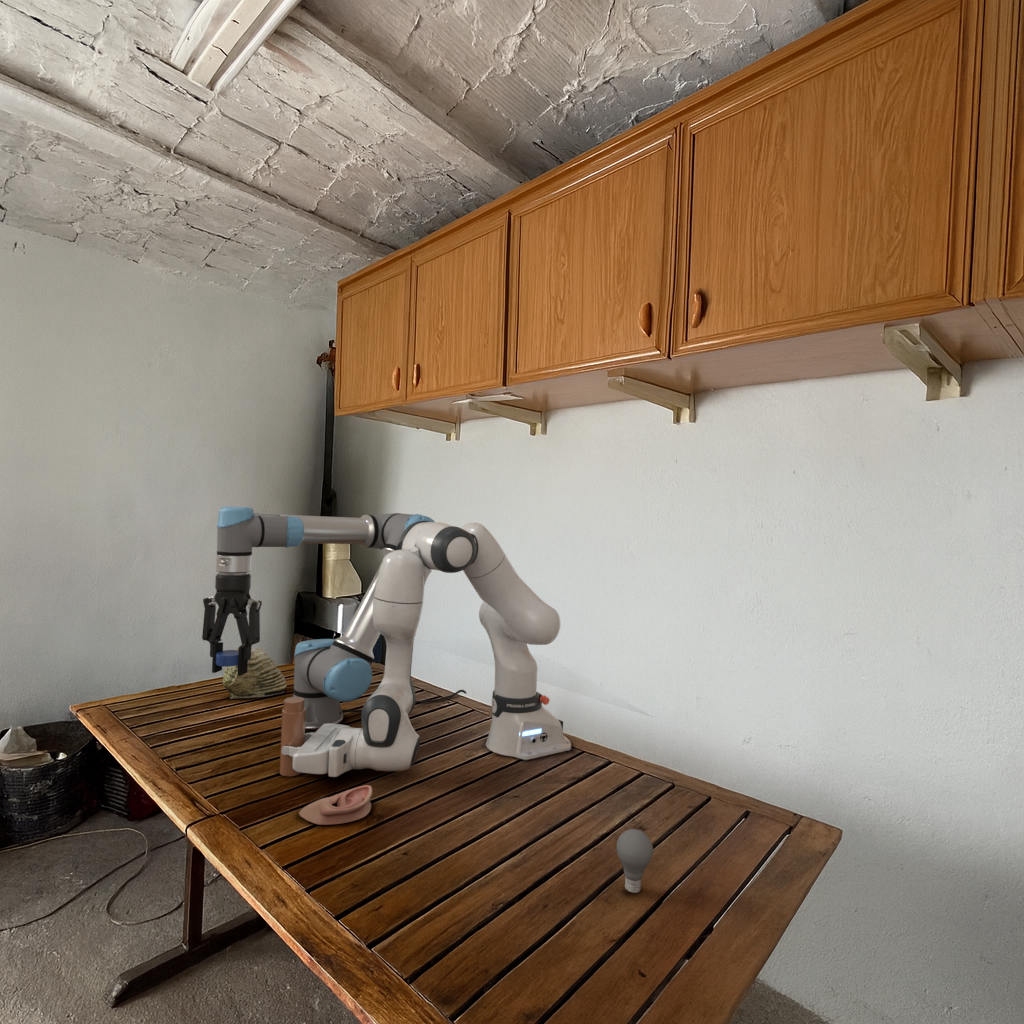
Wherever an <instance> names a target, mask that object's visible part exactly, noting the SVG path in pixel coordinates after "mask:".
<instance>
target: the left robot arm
mask: <svg viewBox="0 0 1024 1024" xmlns="http://www.w3.org/2000/svg"><path fill="white" fill-rule="evenodd" d="M418 521H429V522H436V521H435V520H434V519H433V518H431V517H430V516H427V515H423V514H419V513H416V514H413V513H411V514H409V513H400V512H393V513H384V514H363V515H362V516H361V517H349V516H348V517H347V516H324V515H323V516H321V515H300V514H273V513H259V512H255V511H254V509H253V508H252V507H248V506H222V507H221V508H220V509H219V511H218V515H217V525H216V529H217V532H216V558H215V559H216V560H215V561H216V562H215V571H216V572H217V574H215V583H214V585H215V586H214V588H215V591H216V592H215V594H214V596H209V597H205V598H203V599H202V602H203V603H202V604H203V608H204V610H203V611H204V612H203V625H202V633H201V634H202V635H201V639H202V641H206V642H208V643H209V657H210V658H211V659H212V663H211V673H213V674H216V673H218V672H220V671H222V670H223V666H218V665H216V653H217V652H220V651H224V641H223V639H221V638H222V636H223V632H224V629H225V626H226V623H227V620H228V617H229V616H230V615H231V614H232V615H233V618H234V619H235V621H236V625H237V630H238V634H239V638H240V642H241V645H240V646H238V647H239V650H238V675H240V676H241V675H243V674H245V673H247V669H248V660H249V659H250V658H251V649H252V646H253V645H255V644H259V643H260V642H261V633H260V632H261V618H260V617H261V615H260V613H261V607H262V605H263V602H262V601H261V600H256V599H253V598H252V596H251V594H250V590H251V587H252V586H251V585H252V584H251V583H252V575H251V574H250V573H251V571H252V564H253V563H252V561H253V560H252V558H253V548H290V547H293V548H294V547H298V546H300V545H301V544H318V545H319V544H323V545H324V544H327V545H329V544H330V545H360V547H362V548H365V549H366V548H367V549H369V548H370V549H378V550H382V553H383V556H384V557H385V556H386V555H387V554H388V553H390V552H392V551H395V550H396V547H397V545H398V543H399V542H400V538H401V536H402V534H403V532H404V530H405V529H406V528H407V527H408V526H409V525H410V524H412V523H415V522H418ZM398 550H399V548H398ZM384 557H383V558H384ZM381 564H382V562H381V563H380V565H379V567H378V569H377V571H376V572H375V575H374V577H373V579H372V581H371V582H370V584H369V586H368V588H367V590H366V592H365V593H364V596H363V597H362V599H361V601H360V602H359V605H358V607H357V608H356V610H355V612H354V614H353V616H352V618H351V620H350V622H349V624H348V626H347V627H346V630H345V632H344V634H343V635H342V636H339V637H337V638H319V639H308V640H303V641H300V642H297V644H296V645H295V650H294V655H293V656H294V672H293V695H292V697H302V698H304V707H305V708H306V718H305V733H311V732H316V731H317V730H318V729H319V728H320V727H321V726H322V725H323V724H327V723H333V724H341V725H342V723H343V722H344V714H343V713H361V712H362V709H342V706H341V702H343V703H350V702H353V701H355V700H358V699H359V698H361V697H362V696H364V694H365V693H366V692H367V691H368V690H369V688H370V686H371V684H372V681H373V673H372V672H373V669H372V667H371V665H372V663H373V662H374V660H375V656H374V651H373V649H374V647H375V645H376V643H377V641H378V639H379V637H380V635H381V634H380V633H379V632H378V631H377V629H376V628H375V626H374V622H373V601H374V594H375V587H376V582H377V578H378V574H379V570H380V567H381ZM217 606H218V608H217ZM247 606H248V607H247ZM247 608H248V609H249V611H248V610H247ZM222 641H223V642H222ZM460 693H464V694H467V691H466V690H465V689H459V690H457V691H455V692H454V693H452V694H450V695H446V696H443V697H440V698H434V699H425V700H416V702H415V704H425V703H433V702H439V701H444V700H447V699H451V698H453V697H455V696H456V695H458V694H460Z"/></svg>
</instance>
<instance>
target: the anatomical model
mask: <svg viewBox="0 0 1024 1024" xmlns="http://www.w3.org/2000/svg"><path fill="white" fill-rule="evenodd" d="M372 795H373V787H372V786H371V785H369V784H367V785H366V784H365V785H361V786H356V787H354V788H351V789H350V788H349V789H347V790H345V791H341V792H340V793H337V794H334V795H332V796H329V797H328V796H327V797H323V798H320V799H317V800H315V801H313V802H311V803H309V804H307V805H306V806H304V807H303V808H301V809H300V810H299V812H298V815H299V817H300V818H302V819H304V820H306V821H307V822H310V823H311V824H315V825H319V826H328V825H339V824H346V823H351V822H354V821H357V820H361V819H363V818H365V817H366V816H367V815H368V814H369V813H370V812H371V809H372V803H371V798H372V797H373V796H372Z"/></svg>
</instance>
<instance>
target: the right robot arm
mask: <svg viewBox="0 0 1024 1024" xmlns="http://www.w3.org/2000/svg"><path fill="white" fill-rule="evenodd" d="M398 548H399V550H398ZM381 563H382V564H381ZM381 563H380V565H381V567H380V566H379V567H380V570H379V574H378V578H377V582H376V587H375V594H374V601H373V622H374V626H375V628H376V629H377V631H378V632H379V633H380V635H382V637H384V640H385V645H386V650H385V651H386V652H385V659H384V660H385V662H384V672H383V677H382V679H381V681H380V683H379V684H378V686H377V688H376V690H375V691H374V692H373V693H372V694H371V695H370V696H369V697H368V699H367V700H366V701H365V702H364V704H363V706H362V708H361V710H362V712H360V718H361V727H351V726H350V725H346V724H342V723H341V724H333V723H327V724H323V725H322V726H321V727H320V728H319V729H318V730H317V731H316V732H305V743H304V744H303V745H302V746H301V747H297V748H296V747H292V745H285V746H283V747H282V754H283V755H289V756H291V757H293V770H295V771H297V772H300V773H301V774H307V775H308V774H309V775H310V774H311V775H326V774H327V776H328V777H331V778H337V777H339V776H341V775H343V774H344V773H346V772H349V771H351V770H363V769H371V770H374V771H377V772H402V771H407V770H409V769H411V768H412V767H413V766H414V764H415V763H416V760H417V757H418V755H419V751H420V748H421V747H420V746H421V737H420V735H419V734H418V733H417V732H416V730H415V728H414V727H413V725H412V723H411V719H410V716H409V715H411V713H412V712H413V710H414V708H415V706H416V703H415V702H416V701H417V695H416V691H415V687H414V684H413V681H412V663H413V655H414V654H413V653H414V642H415V638H416V634H417V631H418V628H419V625H420V621H421V616H422V612H423V605H424V599H425V598H424V597H425V585H426V582H427V580H428V578H429V575H430V574H431V573H432V570H434V571H438V572H439V571H440V572H442V573H445V574H455V573H456V574H457V573H459V572H460V573H461V572H463V573H464V575H465V576H466V578H467V579H468V581H469V582H470V584H471V586H472V587H473V589H474V590H475V592H476V594H477V595H478V597H479V598H480V599H481V600H482V603H481V605H480V607H479V611H478V618H479V622H480V624H481V626H482V627H483V628H484V630H485V632H486V633H487V636H488V639H489V641H490V646H491V649H492V653H493V661H494V689H493V691H492V698H491V714H492V715H491V722H490V726H489V727H490V728H489V731H488V735H487V739H486V741H485V747H486V748H487V749H488V750H489V751H491V752H492V753H494V754H498V755H502V756H506V757H512V758H513V757H514V758H517V759H520V760H523V761H528V760H529V761H530V760H533V759H539V758H542V757H546V756H550V755H555V754H559V753H565V752H568V751H571V750H572V742H571V741H570V739H569V738H568V737H567V736H565V735H564V721H563V720H561V719H559V718H557V717H556V716H555V715H554V714H552V713H551V712H550V711H549V710H548V709H546V708H545V707H544V706H547V705H549V703H550V702H551V701H550V698H549V697H548V696H546V695H544V694H542V693H540V692H538V691H537V690H538V689H537V687H538V663H537V660H536V659H535V657H534V656H533V655H532V653H531V652H530V651H531V650H530V649H529V646H528V645H530V646H545V645H547V646H548V645H549V644H551V643H552V642H554V641H555V640H556V639H557V637H558V635H559V633H560V631H561V617H560V614H559V612H558V611H557V610H556V609H555V608H554V607H553V606H551V605H549V604H548V603H546V601H544V600H542V598H540V596H539V595H537V594H536V593H535V592H534V590H533V589H532V588H531V587H530V586H529V585H528V584H527V583H526V582H525V581H524V580H523V579H522V578H521V576H520V575H519V574H518V572H517V571H516V570H515V567H514V566H513V564H512V563H511V561H510V560H509V558H508V556H507V555H506V553H505V551H504V549H503V548H502V546H501V545H500V543H499V542H498V541H497V539H496V538H495V537H494V535H493V534H492V533H491V531H489V529H487V527H485V525H483V524H481V523H479V522H469V523H466V524H464V525H462V526H460V527H459V526H456V525H455V526H454V525H450V524H447V523H445V522H439V521H437V522H436V521H435V522H429V521H418V522H415V523H412V524H410V525H409V526H408V527H407V528H406V529H405V530H404V532H403V534H402V536H401V538H400V542H399V543H398V545H397V547H396V550H395V551H392V552H390V553H388V554H387V555H386V556H385V557H383V558H382V561H381Z"/></svg>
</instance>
